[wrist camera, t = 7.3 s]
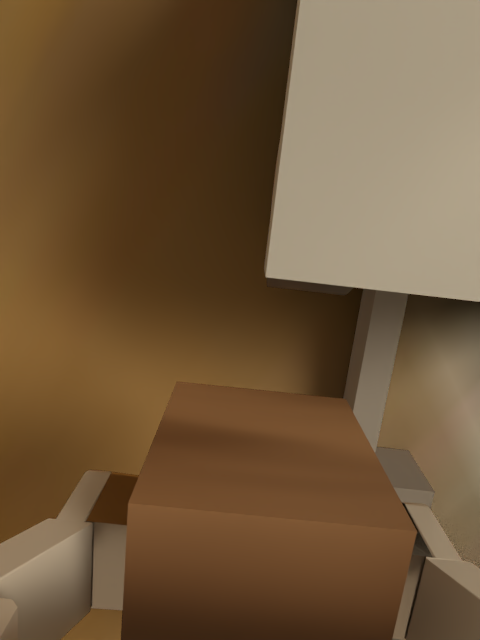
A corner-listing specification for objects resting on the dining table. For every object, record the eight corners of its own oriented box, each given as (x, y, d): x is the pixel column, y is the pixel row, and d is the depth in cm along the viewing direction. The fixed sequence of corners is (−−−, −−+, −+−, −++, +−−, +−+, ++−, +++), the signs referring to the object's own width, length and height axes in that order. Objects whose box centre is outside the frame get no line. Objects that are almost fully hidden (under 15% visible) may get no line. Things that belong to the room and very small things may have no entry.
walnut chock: (320, 542, 11) (367, 746, 7) (165, 528, 11) (117, 723, 7) (345, 398, 11) (416, 531, 6) (176, 381, 10) (128, 503, 6)
